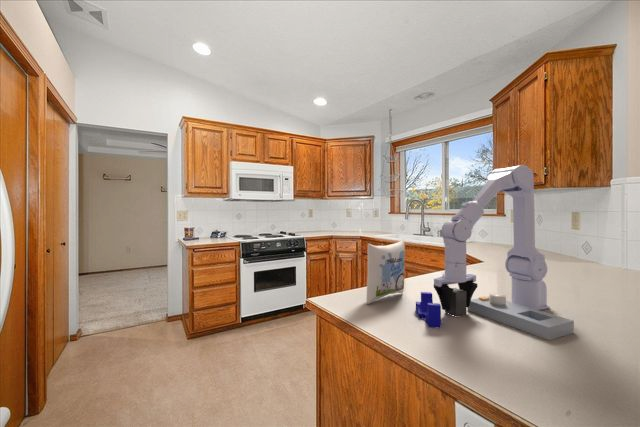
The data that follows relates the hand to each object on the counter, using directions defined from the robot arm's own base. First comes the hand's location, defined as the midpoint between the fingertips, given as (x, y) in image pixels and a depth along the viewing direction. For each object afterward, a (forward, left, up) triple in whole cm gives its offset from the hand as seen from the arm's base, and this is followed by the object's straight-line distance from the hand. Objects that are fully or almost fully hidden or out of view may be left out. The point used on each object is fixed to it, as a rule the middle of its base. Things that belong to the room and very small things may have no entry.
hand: (455, 308), depth 83 cm
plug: (0, 0, -2) cm, 2 cm away
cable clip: (+10, -1, -2) cm, 10 cm away
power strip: (-11, +10, -2) cm, 15 cm away
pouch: (+10, -20, -2) cm, 22 cm away
